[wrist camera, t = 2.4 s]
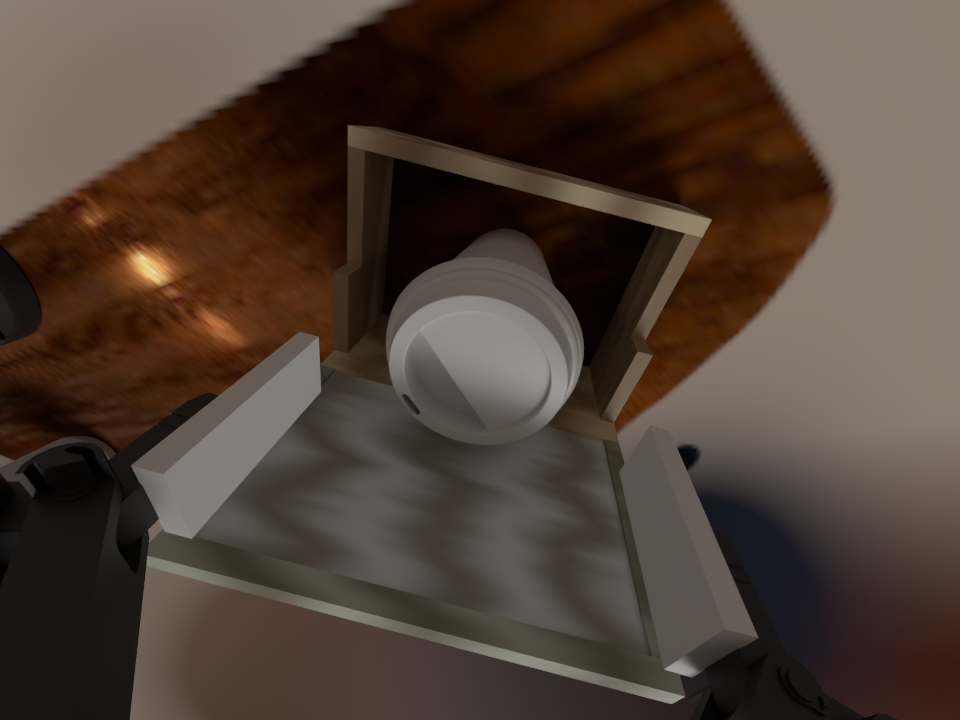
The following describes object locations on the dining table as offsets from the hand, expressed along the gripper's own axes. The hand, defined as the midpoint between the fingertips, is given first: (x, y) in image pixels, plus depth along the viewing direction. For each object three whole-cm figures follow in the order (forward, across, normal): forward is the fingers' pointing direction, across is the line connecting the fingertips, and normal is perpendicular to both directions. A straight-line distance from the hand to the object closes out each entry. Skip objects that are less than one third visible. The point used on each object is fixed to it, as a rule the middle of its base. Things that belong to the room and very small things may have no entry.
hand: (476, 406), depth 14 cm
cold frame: (+17, 0, 0) cm, 17 cm away
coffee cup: (+17, 0, 0) cm, 17 cm away
